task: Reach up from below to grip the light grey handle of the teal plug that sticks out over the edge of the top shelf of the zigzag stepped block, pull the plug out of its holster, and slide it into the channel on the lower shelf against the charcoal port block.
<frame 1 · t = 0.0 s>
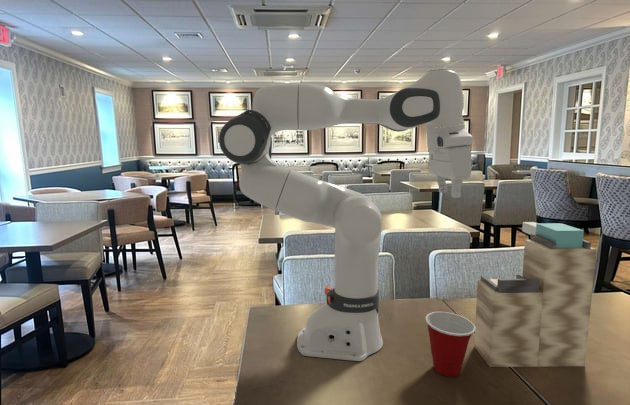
hand: (449, 194, 96), 39 cm above the table, tool pointing down, fingers open, 8 cm apart
zigzag stepped block: (526, 356, 94), on the table
plug: (557, 243, 91), point 28 cm above the table, touching zigzag stepped block
plastic cup: (448, 370, 89), on the table
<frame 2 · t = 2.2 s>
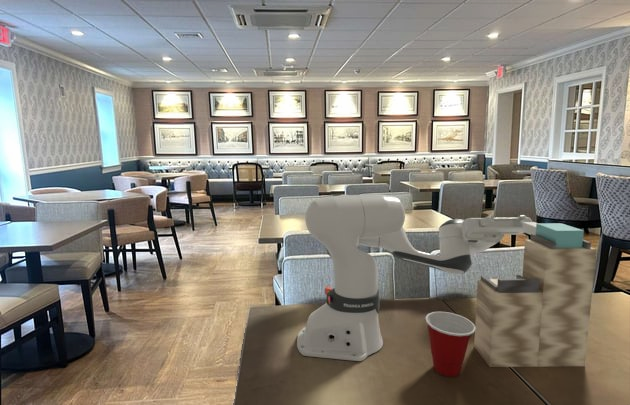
hand: (507, 217, 114), 30 cm above the table, tool pointing upward, fingers open, 8 cm apart
nothing on the table moved.
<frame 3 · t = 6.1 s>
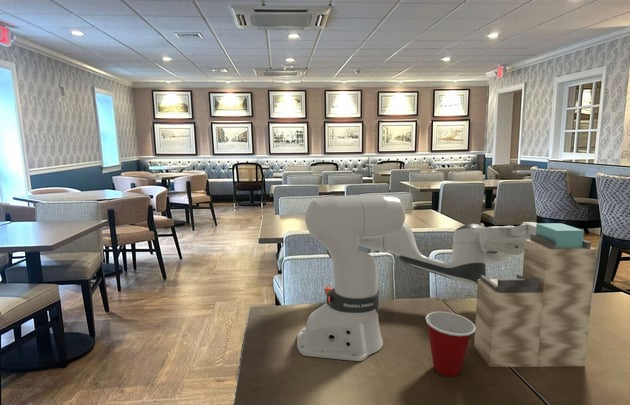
hand: (533, 227, 101), 30 cm above the table, tool pointing upward, fingers closed on plug, 3 cm apart
plug: (557, 243, 91), point 28 cm above the table, touching gripper, zigzag stepped block
everything else where it was.
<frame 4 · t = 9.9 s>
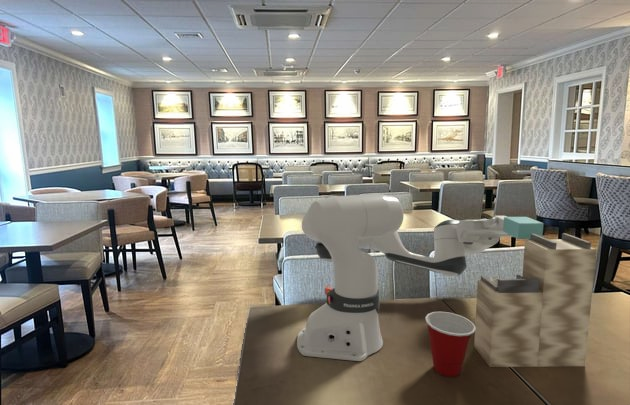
hand: (503, 220, 111), 30 cm above the table, tool pointing upward, fingers closed on plug, 3 cm apart
plug: (521, 235, 101), point 28 cm above the table, touching gripper
everything else where it was.
when the fingers open (22 cm above the table, at t = 13.6 s): plug drops 2 cm, resting on zigzag stepped block.
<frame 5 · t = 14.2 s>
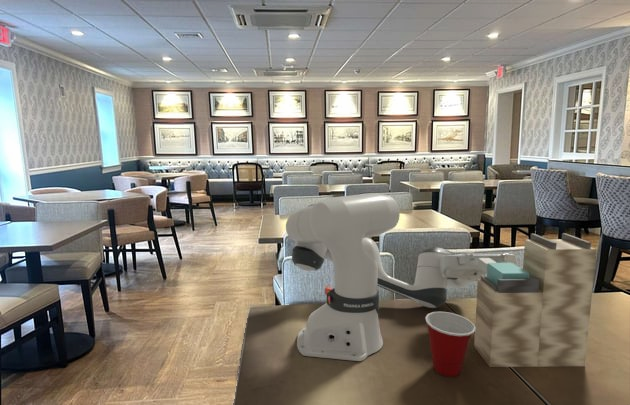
hand: (488, 256, 102), 22 cm above the table, tool pointing upward, fingers open, 8 cm apart
plug: (506, 283, 93), point 18 cm above the table, touching zigzag stepped block
everything else where it was.
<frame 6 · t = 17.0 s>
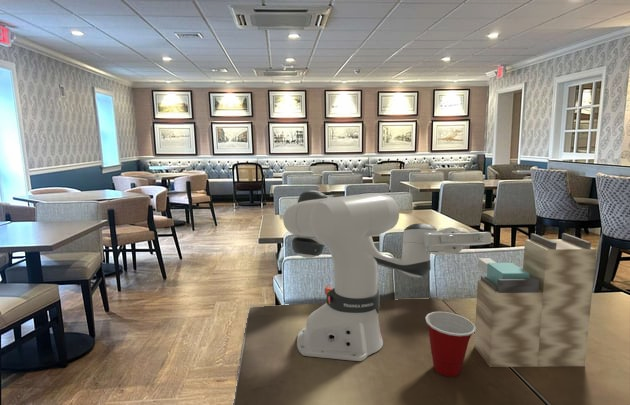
hand: (467, 237, 116), 24 cm above the table, tool pointing upward, fingers open, 8 cm apart
nothing on the table moved.
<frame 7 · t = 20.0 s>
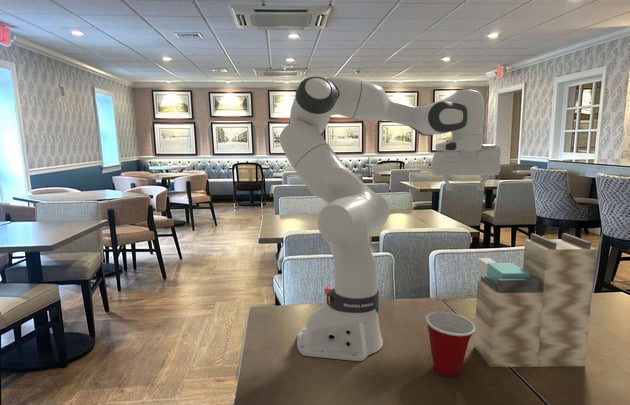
hand: (464, 189, 120), 37 cm above the table, tool pointing down, fingers open, 8 cm apart
nothing on the table moved.
at the end: plug 0.7 cm from the target spot, point 18.0 cm above the table; plug tilted 0°; the gripper is holding nothing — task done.
